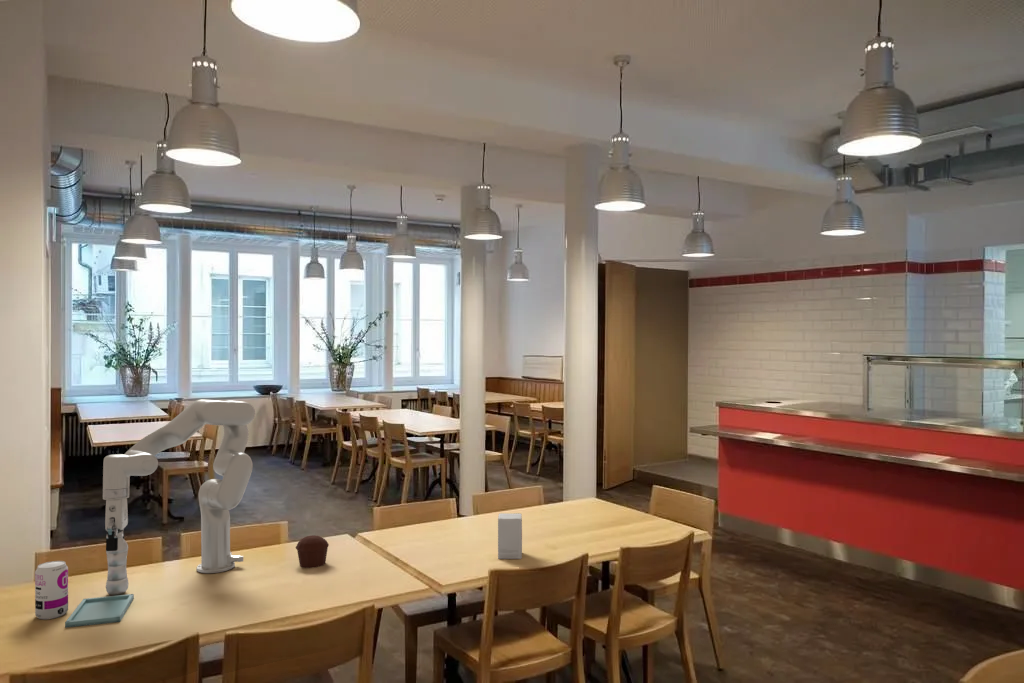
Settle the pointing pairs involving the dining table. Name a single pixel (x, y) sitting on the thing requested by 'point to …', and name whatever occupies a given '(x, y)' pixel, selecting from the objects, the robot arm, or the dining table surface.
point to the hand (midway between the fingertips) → (115, 546)
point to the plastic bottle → (117, 567)
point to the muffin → (312, 551)
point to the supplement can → (51, 590)
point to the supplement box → (510, 536)
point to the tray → (100, 610)
